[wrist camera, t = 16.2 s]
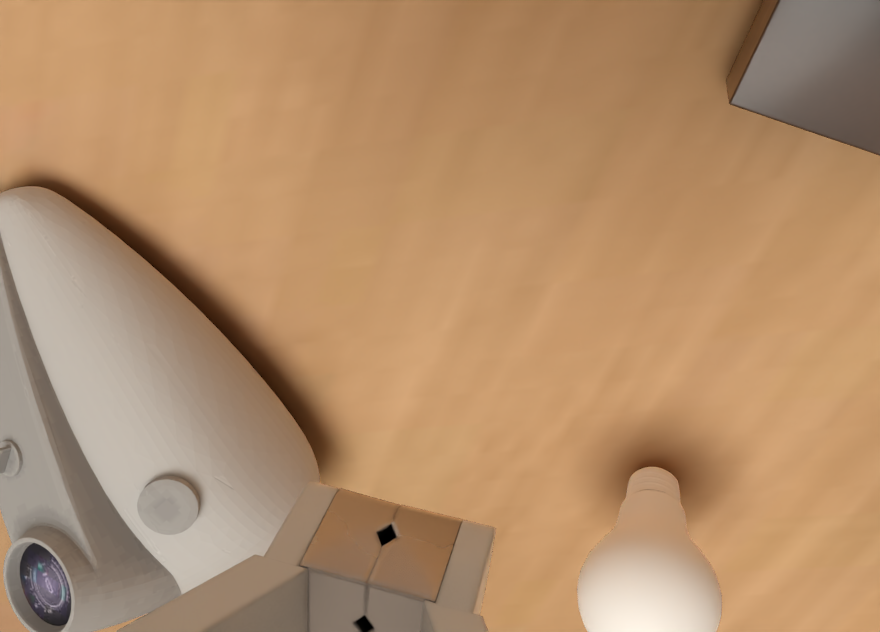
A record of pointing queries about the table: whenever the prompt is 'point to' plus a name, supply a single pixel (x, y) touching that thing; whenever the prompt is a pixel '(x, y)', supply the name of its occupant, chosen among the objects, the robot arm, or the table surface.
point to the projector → (123, 429)
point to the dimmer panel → (814, 68)
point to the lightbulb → (649, 567)
